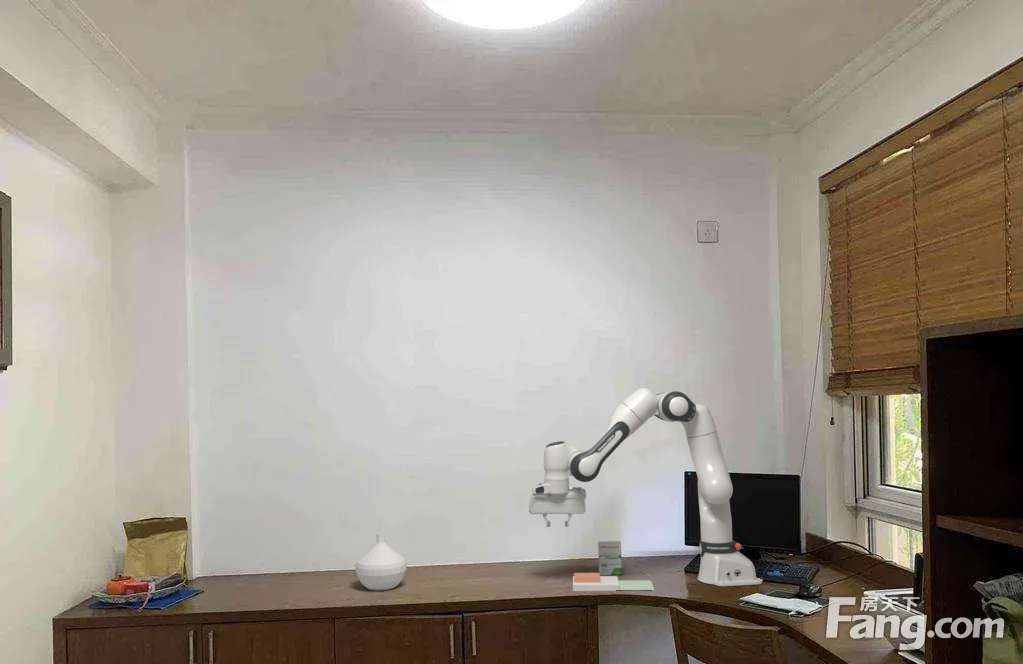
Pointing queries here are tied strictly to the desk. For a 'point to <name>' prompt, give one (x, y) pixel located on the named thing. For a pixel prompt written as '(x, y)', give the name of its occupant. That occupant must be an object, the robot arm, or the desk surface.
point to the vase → (381, 566)
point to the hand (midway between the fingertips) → (557, 526)
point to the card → (586, 577)
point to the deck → (598, 584)
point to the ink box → (610, 558)
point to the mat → (636, 585)
